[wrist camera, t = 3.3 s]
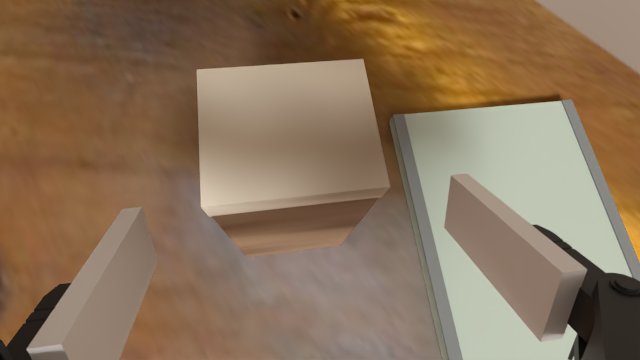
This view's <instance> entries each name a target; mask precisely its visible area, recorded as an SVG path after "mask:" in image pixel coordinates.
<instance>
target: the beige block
mask: <svg viewBox="0 0 640 360" xmlns="http://www.w3.org/2000/svg"><path fill="white" fill-rule="evenodd" d="M197 97H198V129H199V160H200V191H201V208H202V209H203V210H204V211H205V212H206V214H207V215H208V216H212V217H213V218H214V220H215V221H216V222H217V223H218V224H219V226H220V227H221V228H222V229H223V230H224V231H225V233H226V234H227V235H228V236H229V237H230V238H231V240H232V241H233V242H234V243H235V244H236V246H237V247H238V248H239V249H240V250H241V251H242V253H243V254H244V255H245V256H246V257H252V256H260V255H268V254H276V253H284V252H292V251H299V250H307V249H315V248H323V247H331V246H339V245H341V244H342V243H343V241H344V240H345V239H346V238H347V236H348V235H349V234H350V233H351V231H352V230H353V229H354V228H355V226H356V225H357V224H358V223H359V221H360V220H361V219H362V218H363V217H364V215H365V214H366V213H367V212H368V210H369V209H370V208H371V207H372V205H373V204H374V203H375V202H376V200H377V199H378V198H379V197H382V196H383V195H384V194H385V192H386V191H387V190H388V189H389V188H390V183H389V178H388V173H387V169H386V164H385V159H384V154H383V150H382V145H381V140H380V135H379V131H378V126H377V121H376V117H375V112H374V107H373V102H372V98H371V93H370V88H369V83H368V79H367V74H366V69H365V65H364V60H363V59H353V60H338V61H322V62H307V63H291V64H276V65H260V66H245V67H229V68H214V69H198V70H197Z"/></svg>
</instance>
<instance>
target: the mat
mask: <svg viewBox="0 0 640 360" xmlns="http://www.w3.org/2000/svg"><path fill="white" fill-rule="evenodd" d="M389 124H390V128H391V133H392V137H393V142H394V146H395V151H396V155H397V160H398V164H399V169H400V173H401V178H402V182H403V187H404V191H405V196H406V200H407V204H408V209H409V213H410V218H411V222H412V227H413V231H414V236H415V240H416V245H417V249H418V254H419V258H420V263H421V267H422V272H423V276H424V281H425V285H426V290H427V294H428V298H429V303H430V307H431V312H432V316H433V321H434V325H435V330H436V334H437V339H438V343H439V348H440V352H441V357H442V360H569V359H568V356H569V354H570V351H571V348H572V346H573V343H574V341H575V338H576V335H577V333H576V332H575V331H574V330H573V329H572V328H571V327H570V326H569V325H567V328H566V330H565V333H564V336H563V338H562V339H556V340H550V341H544V342H540V341H539V340H538V339H537V337H536V336H535V335H534V334H533V333H532V331H531V330H530V329H529V328H528V327H527V326H526V324H525V323H524V322H523V321H522V320H521V318H520V317H519V316H518V315H517V314H516V312H515V311H514V310H513V309H512V308H511V306H510V305H509V304H508V303H507V302H506V301H505V299H504V298H503V297H502V296H501V295H500V293H499V292H498V291H497V290H496V289H495V287H494V286H493V285H492V284H491V283H490V281H489V280H488V279H487V278H486V277H485V276H484V274H483V273H482V272H481V271H480V270H479V268H478V267H477V266H476V265H475V264H474V262H473V261H472V260H471V259H470V258H469V256H468V255H467V254H466V253H465V252H464V250H463V249H462V248H461V247H460V246H459V245H458V243H457V242H456V241H455V240H454V239H453V237H452V236H451V235H450V234H449V233H448V231H447V230H446V229H445V228H444V224H445V217H446V209H447V202H448V194H449V186H450V179H451V175H457V174H468V175H470V176H471V177H472V178H473V179H475V180H476V181H477V182H478V183H480V184H481V185H482V186H483V187H485V188H486V189H487V190H489V191H490V192H491V193H492V194H494V195H495V196H496V197H497V198H499V199H500V200H501V201H502V202H504V203H505V204H506V205H507V206H509V207H510V208H511V209H512V210H514V211H515V212H516V213H517V214H519V215H520V216H521V217H522V218H524V219H525V220H526V221H527V222H529V223H530V224H531V225H536V224H537V225H539V226H541V227H543V228H546V229H548V230H550V231H552V232H553V233H554V234H556V235H557V236H558V237H560V238H561V239H562V240H563V242H566V243H568V244H569V245H570V246H571V247H572V249H575V250H577V251H578V252H579V253H581V254H582V255H583V256H584V257H586V258H587V259H588V260H590V261H591V262H592V263H594V264H595V265H596V266H598V267H599V268H600V269H601V270H603V271H604V272H605V273H618V274H624V275H626V276H629V277H632V278H635V279H637V280H638V281H640V263H639V260H638V258H637V255H636V253H635V251H634V248H633V246H632V243H631V241H630V239H629V236H628V234H627V231H626V229H625V227H624V224H623V222H622V219H621V217H620V214H619V212H618V210H617V207H616V205H615V202H614V200H613V198H612V195H611V193H610V190H609V188H608V186H607V183H606V181H605V178H604V176H603V174H602V171H601V169H600V166H599V164H598V162H597V159H596V157H595V154H594V152H593V150H592V147H591V145H590V142H589V140H588V137H587V135H586V133H585V130H584V128H583V125H582V123H581V121H580V118H579V116H578V113H577V111H576V109H575V106H574V104H573V101H572V99H571V100H562V101H555V102H543V103H531V104H519V105H508V106H496V107H484V108H472V109H460V110H448V111H437V112H425V113H413V114H393V116H392V117H391V119H390V121H389ZM572 360H574V357H573V359H572Z"/></svg>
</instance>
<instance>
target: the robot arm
mask: <svg viewBox="0 0 640 360" xmlns="http://www.w3.org/2000/svg"><path fill="white" fill-rule="evenodd" d="M444 228H445V229H446V230H447V231H448V233H449V234H450V235H451V236H452V237H453V239H454V240H455V241H456V242H457V243H458V245H459V246H460V247H461V248H462V249H463V250H464V252H465V253H466V254H467V255H468V256H469V258H470V259H471V260H472V261H473V262H474V264H475V265H476V266H477V267H478V268H479V270H480V271H481V272H482V273H483V274H484V276H485V277H486V278H487V279H488V280H489V281H490V283H491V284H492V285H493V286H494V287H495V289H496V290H497V291H498V292H499V293H500V295H501V296H502V297H503V298H504V299H505V301H506V302H507V303H508V304H509V305H510V306H511V308H512V309H513V310H514V311H515V312H516V314H517V315H518V316H519V317H520V318H521V320H522V321H523V322H524V323H525V324H526V326H527V327H528V328H529V329H530V330H531V331H532V333H533V334H534V335H535V336H536V337H537V339H538V340H539V341H540V342H544V341H550V340H556V339H562V338H563V336H564V333H565V330H566V328H567V325H569V326H570V327H571V328H572V329H573V330H574V331H575V332H576V333H577V335H576V338H575V341H574V343H573V346H572V348H571V351H570V354H569V356H568V359H569V360H572V359H573V357H574V360H640V281H638V280H637V279H635V278H632V277H629V276H626V275H624V274H618V273H605V272H604V271H603V270H601V269H600V268H599V267H598V266H596V265H595V264H594V263H592V262H591V261H590V260H588V259H587V258H586V257H584V256H583V255H582V254H581V253H579V252H578V251H577V250H575V249H572V247H571V246H570V245H569V244H568V243H566V242H563V240H562V239H561V238H560V237H558V236H557V235H556V234H554V233H553V232H552V231H550V230H548V229H546V228H543V227H541V226H539V225H537V224H536V225H531V224H530V223H529V222H527V221H526V220H525V219H524V218H522V217H521V216H520V215H519V214H517V213H516V212H515V211H514V210H512V209H511V208H510V207H509V206H507V205H506V204H505V203H504V202H502V201H501V200H500V199H499V198H497V197H496V196H495V195H494V194H492V193H491V192H490V191H489V190H487V189H486V188H485V187H483V186H482V185H481V184H480V183H478V182H477V181H476V180H475V179H473V178H472V177H471V176H470V175H468V174H457V175H451V179H450V186H449V194H448V202H447V209H446V217H445V224H444ZM157 264H158V259H157V256H156V252H155V249H154V245H153V242H152V238H151V235H150V232H149V228H148V225H147V221H146V218H145V214H144V211H143V208H142V207H136V208H127V209H122V210H121V212H120V213H119V214H118V216H117V217H116V219H115V220H114V222H113V223H112V225H111V226H110V228H109V229H108V231H107V232H106V233H105V235H104V236H103V238H102V239H101V241H100V242H99V244H98V245H97V247H96V248H95V250H94V251H93V252H92V254H91V255H90V257H89V258H88V260H87V261H86V263H85V264H84V266H83V267H82V268H81V270H80V271H79V273H78V274H77V276H76V277H75V279H74V280H73V282H72V283H67V284H59V285H58V286H57V287H55V288H54V289H53V290H52V291H50V292H49V293H48V294H47V295H45V296H44V297H43V298H42V300H41V301H40V303H39V304H38V305H37V307H36V308H35V309H34V312H33V313H31V315H30V316H29V317H28V319H27V320H26V323H25V324H23V325H22V327H21V328H20V329H19V331H18V332H17V333H16V335H15V336H14V337H13V339H12V340H11V341H10V343H9V344H8V345H7V347H6V346H5V345H4V343H3V341H1V340H0V360H119V359H120V356H121V354H122V351H123V349H124V346H125V344H126V341H127V339H128V336H129V334H130V331H131V329H132V326H133V324H134V321H135V319H136V316H137V314H138V311H139V309H140V306H141V304H142V301H143V299H144V296H145V294H146V291H147V289H148V286H149V284H150V281H151V279H152V276H153V274H154V271H155V269H156V266H157Z"/></svg>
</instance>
